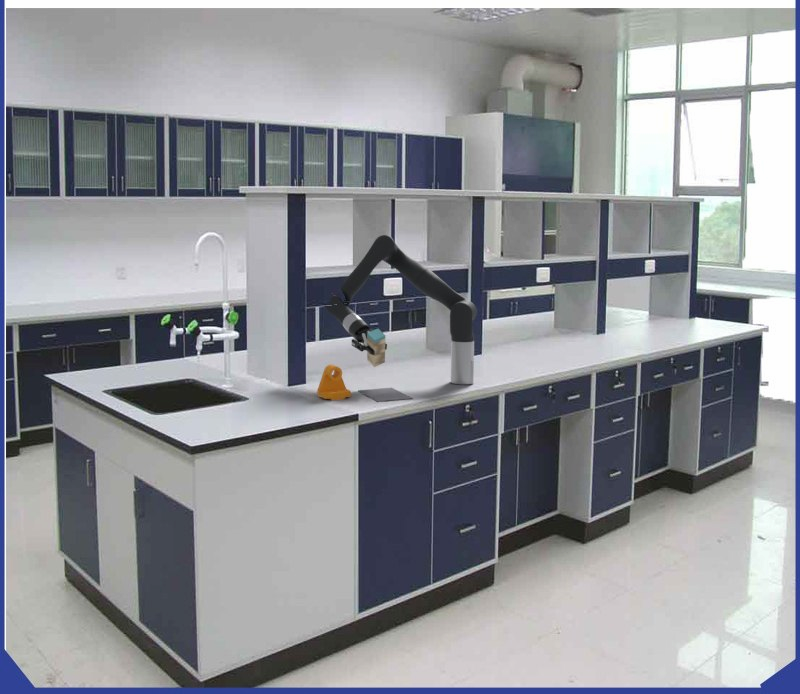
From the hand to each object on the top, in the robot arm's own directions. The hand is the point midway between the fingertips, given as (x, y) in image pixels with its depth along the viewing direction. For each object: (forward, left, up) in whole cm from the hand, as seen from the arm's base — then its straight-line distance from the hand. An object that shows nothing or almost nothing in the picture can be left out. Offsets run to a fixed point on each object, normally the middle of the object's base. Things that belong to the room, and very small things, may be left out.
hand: (379, 350), depth 335 cm
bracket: (+15, +16, -16) cm, 27 cm away
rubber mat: (-3, +9, -16) cm, 18 cm away
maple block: (+2, -6, -5) cm, 8 cm away
